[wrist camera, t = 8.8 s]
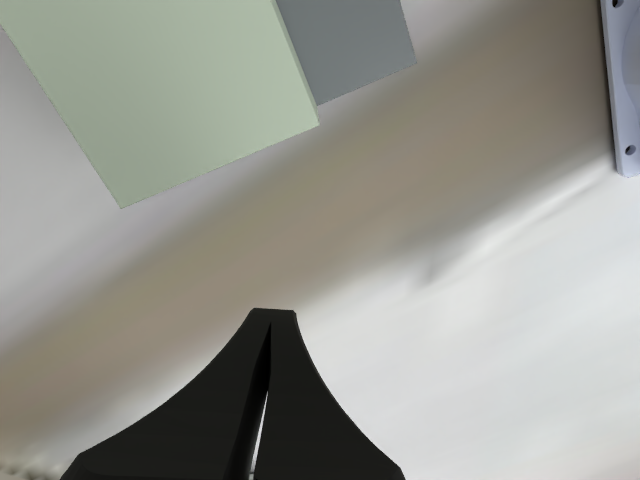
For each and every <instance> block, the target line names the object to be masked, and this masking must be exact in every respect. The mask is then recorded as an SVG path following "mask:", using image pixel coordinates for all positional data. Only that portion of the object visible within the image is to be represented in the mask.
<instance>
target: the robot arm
mask: <svg viewBox="0 0 640 480" xmlns="http://www.w3.org/2000/svg"><path fill="white" fill-rule="evenodd" d="M600 1H601V11H602V21H603V32H604V42H605V52H606V62H607V72H608V82H609V92H610V102H611V112H612V122H613V133H614V143H615V153H616V163H617V171H618V174H620V175H621V176H624V177H628V178H629V177H633V176H636V175H639V174H640V0H618V3H617V5H616V6H615V7H613V6H612V0H600ZM628 146H630V150H629V151H628V152H627V153H625V150H626V148H627V147H628ZM267 391H268V396H267ZM266 396H267V402H266V409H265V415H264V421H263V427H262V432H261V438H260V444H259V449H258V454H257V460H256V465H255V470H254V475H253V480H405V477H404V475H403V473H402V471H401V468H400V467H399V466H398V465H397V464H395V463H394V462H393V461H392V460H391V459H390V458H389V457H387V456H386V455H385V454H384V453H383V452H382V451H381V450H380V449H378V448H377V447H376V446H375V445H374V444H373V443H372V442H371V441H370V440H369V439H368V438H367V437H366V436H365V435H364V434H363V433H362V432H361V430H360V429H359V428H358V427H357V426H356V425H355V423H354V422H353V421H352V420H351V419H350V417H349V416H348V415H347V414H346V413H345V411H344V410H343V409H342V408H341V406H340V405H339V404H338V402H337V401H336V400H335V398H334V397H333V395H332V394H331V392H330V391H329V389H328V388H327V386H326V385H325V383H324V381H323V380H322V378H321V376H320V375H319V373H318V371H317V369H316V367H315V365H314V363H313V361H312V359H311V357H310V355H309V353H308V351H307V348H306V346H305V344H304V341H303V339H302V336H301V333H300V330H299V326H298V323H297V317H296V313H295V312H294V311H293V310H279V309H263V308H253V309H252V310H251V311H250V312H249V314H248V316H247V317H246V319H245V320H244V322H243V323H242V325H241V326H240V328H239V329H238V330H237V332H236V333H235V334H234V335H233V337H232V338H231V339H230V340H229V342H228V343H227V344H226V345H225V347H224V348H223V349H222V350H221V351H220V352H219V353H218V354H217V356H216V357H215V358H214V359H213V360H212V361H211V362H210V363H209V364H208V365H207V366H206V367H205V368H204V369H203V370H202V371H201V372H200V373H199V374H198V375H197V376H196V377H195V378H194V379H193V380H191V381H190V382H189V383H188V384H187V385H186V386H185V387H184V388H182V389H181V390H180V391H179V392H177V393H176V394H175V395H174V396H172V397H171V398H170V399H169V400H167V401H166V402H165V403H163V404H162V405H161V406H159V407H158V408H157V409H155V410H154V411H152V412H151V413H149V414H148V415H146V416H145V417H143V418H142V419H140V420H139V421H137V422H136V423H134V424H133V425H131V426H129V427H128V428H126V429H124V430H123V431H121V432H119V433H117V434H116V435H114V436H112V437H110V438H108V439H106V440H105V441H103V442H101V443H99V444H97V445H95V446H93V447H92V448H90V449H88V450H86V451H84V452H82V453H80V454H78V456H77V457H76V458H75V460H74V461H73V462H72V464H71V465H70V467H69V468H68V469H67V470H66V472H65V473H64V474H63V476H62V477H61V479H60V480H249V476H250V470H251V464H252V459H253V454H254V450H255V445H256V441H257V436H258V432H259V427H260V423H261V418H262V414H263V409H264V405H265V400H266Z"/></svg>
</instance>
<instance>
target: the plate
mask: <svg viewBox="0 0 640 480" xmlns="http://www.w3.org/2000/svg"><path fill="white" fill-rule="evenodd" d="M276 3H277V5H278V8H279V11H280V13H281V16H282V18H283V21H284V23H285V26H286V28H287V31H288V34H289V36H290V39H291V41H292V44H293V46H294V49H295V51H296V54H297V57H298V59H299V62H300V64H301V67H302V69H303V72H304V74H305V77H306V80H307V82H308V85H309V87H310V90H311V92H312V95H313V98H314V100H315V103H316V105H317V106H318V105H321V104H323V103H325V102H328V101H330V100H332V99H335V98H337V97H339V96H341V95H344V94H346V93H348V92H351V91H353V90H355V89H358V88H360V87H362V86H365V85H367V84H369V83H372V82H374V81H376V80H379V79H381V78H383V77H386V76H388V75H390V74H393V73H395V72H397V71H400V70H402V69H404V68H407V67H409V66H411V65H414V64H416V63H417V61H416V57H415V54H414V50H413V46H412V43H411V39H410V36H409V32H408V28H407V25H406V21H405V18H404V14H403V11H402V7H401V3H400V0H276Z"/></svg>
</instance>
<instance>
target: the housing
mask: <svg viewBox="0 0 640 480" xmlns="http://www.w3.org/2000/svg"><path fill="white" fill-rule="evenodd" d="M0 24H1V26H2V27H3V29H4V31H5V32H6V34H7V35H8V37H9V38H10V40H11V41H12V43H13V44H14V46H15V47H16V49H17V50H18V52H19V54H20V55H21V57H22V58H23V60H24V61H25V63H26V64H27V66H28V67H29V69H30V70H31V72H32V74H33V75H34V77H35V78H36V80H37V81H38V83H39V84H40V86H41V87H42V89H43V90H44V92H45V93H46V95H47V97H48V98H49V100H50V101H51V103H52V104H53V106H54V107H55V109H56V110H57V112H58V113H59V115H60V116H61V118H62V120H63V121H64V123H65V124H66V126H67V127H68V129H69V130H70V132H71V133H72V135H73V136H74V138H75V139H76V141H77V143H78V144H79V146H80V147H81V149H82V150H83V152H84V153H85V155H86V156H87V158H88V159H89V161H90V162H91V164H92V166H93V167H94V169H95V170H96V172H97V173H98V175H99V176H100V178H101V179H102V181H103V182H104V184H105V185H106V187H107V189H108V190H109V192H110V193H111V195H112V196H113V198H114V199H115V201H116V202H117V204H118V205H119V207H120V208H121V209H122V208H125V207H127V206H130V205H132V204H134V203H137V202H139V201H141V200H144V199H146V198H148V197H151V196H153V195H156V194H158V193H160V192H163V191H165V190H167V189H170V188H172V187H174V186H177V185H179V184H182V183H184V182H186V181H189V180H191V179H193V178H196V177H198V176H200V175H203V174H205V173H208V172H210V171H212V170H215V169H217V168H219V167H222V166H224V165H226V164H229V163H231V162H234V161H236V160H238V159H241V158H243V157H245V156H248V155H250V154H253V153H255V152H257V151H260V150H262V149H264V148H267V147H269V146H271V145H274V144H276V143H279V142H281V141H283V140H286V139H288V138H290V137H293V136H295V135H297V134H300V133H302V132H305V131H307V130H309V129H312V128H314V127H316V126H319V125H320V123H319V116H318V110H317V105H316V103H315V100H314V98H313V95H312V92H311V90H310V87H309V85H308V82H307V80H306V77H305V74H304V72H303V69H302V67H301V64H300V62H299V59H298V57H297V54H296V51H295V49H294V46H293V44H292V41H291V39H290V36H289V34H288V31H287V28H286V26H285V23H284V21H283V18H282V16H281V13H280V11H279V8H278V5H277V3H276V0H0Z"/></svg>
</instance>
